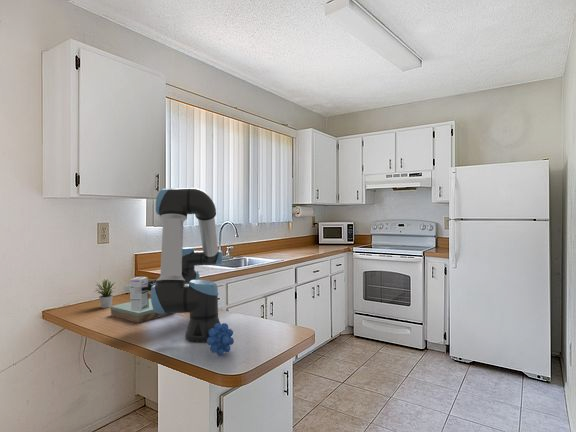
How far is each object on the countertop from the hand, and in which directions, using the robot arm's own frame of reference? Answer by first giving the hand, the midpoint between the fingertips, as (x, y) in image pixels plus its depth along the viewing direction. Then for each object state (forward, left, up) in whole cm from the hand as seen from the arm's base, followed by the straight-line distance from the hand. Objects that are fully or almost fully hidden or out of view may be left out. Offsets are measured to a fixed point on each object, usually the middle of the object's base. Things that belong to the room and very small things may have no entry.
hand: (129, 289), depth 162 cm
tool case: (+26, -12, -18) cm, 34 cm away
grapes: (-53, -20, -19) cm, 59 cm away
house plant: (+56, +2, -19) cm, 59 cm away
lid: (+26, -12, -15) cm, 32 cm away
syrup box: (+2, -5, -10) cm, 11 cm away
